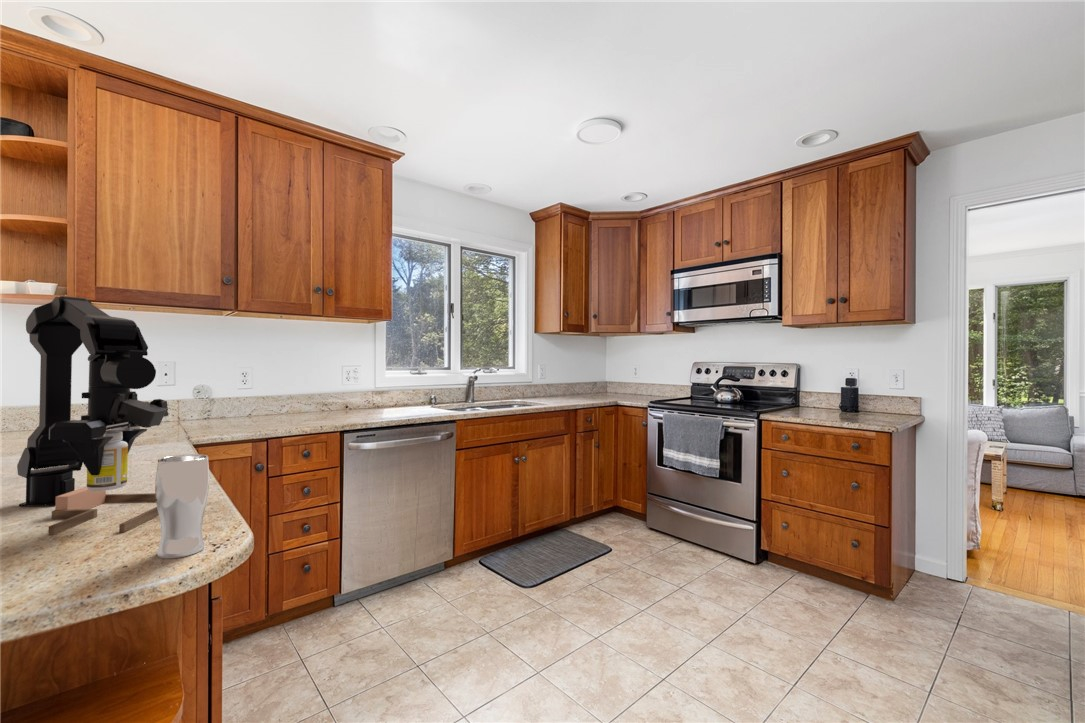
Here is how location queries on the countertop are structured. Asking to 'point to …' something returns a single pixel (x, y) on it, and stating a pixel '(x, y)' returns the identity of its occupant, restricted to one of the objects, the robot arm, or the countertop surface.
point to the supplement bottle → (111, 465)
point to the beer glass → (181, 503)
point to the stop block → (80, 499)
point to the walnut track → (83, 515)
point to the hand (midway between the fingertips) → (107, 471)
